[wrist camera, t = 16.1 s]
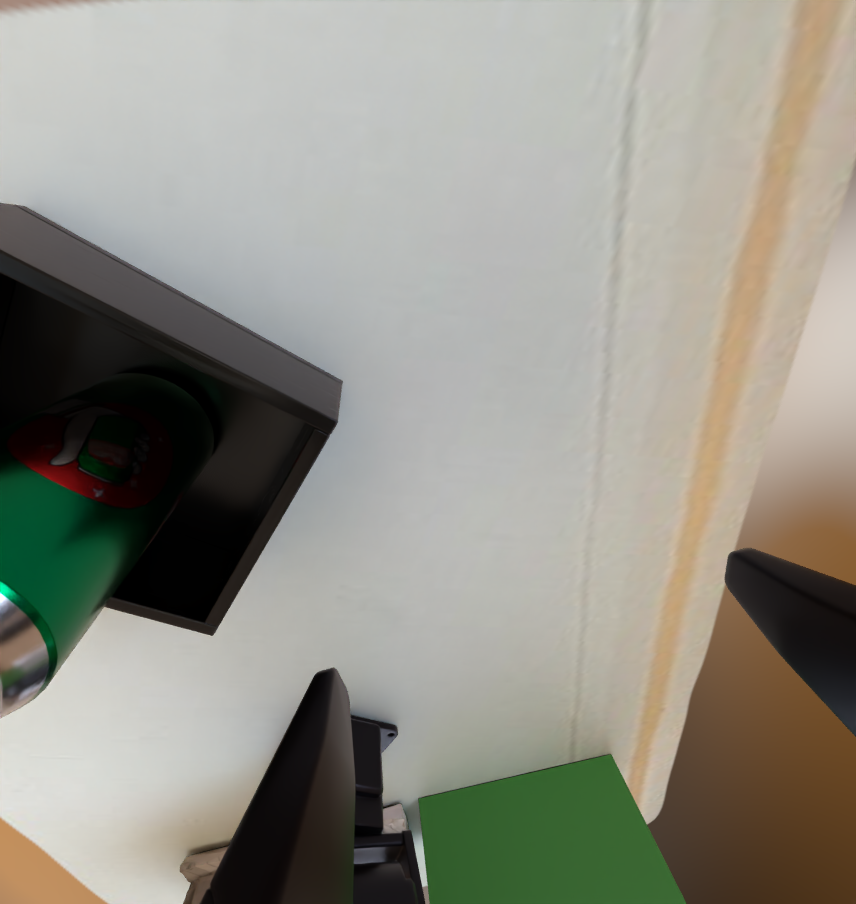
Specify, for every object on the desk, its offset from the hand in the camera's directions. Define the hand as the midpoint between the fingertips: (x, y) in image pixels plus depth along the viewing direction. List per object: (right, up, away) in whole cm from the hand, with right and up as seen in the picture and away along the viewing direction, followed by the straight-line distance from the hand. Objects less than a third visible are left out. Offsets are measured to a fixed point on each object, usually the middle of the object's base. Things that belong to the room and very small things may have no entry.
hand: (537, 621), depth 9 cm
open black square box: (-14, +5, +9) cm, 18 cm away
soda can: (-14, +5, +9) cm, 17 cm away
